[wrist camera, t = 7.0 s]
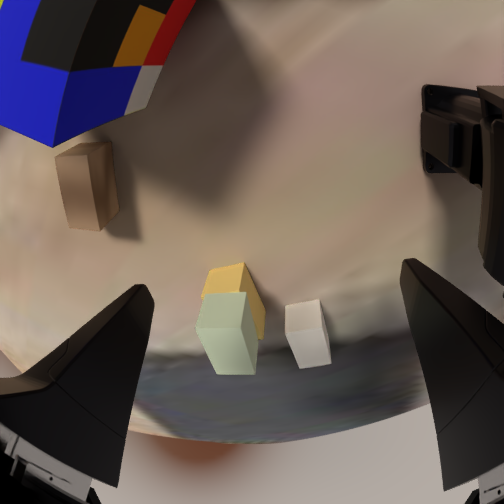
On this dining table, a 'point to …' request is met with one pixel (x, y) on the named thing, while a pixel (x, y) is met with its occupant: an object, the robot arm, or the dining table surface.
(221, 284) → the mustard brick
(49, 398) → the robot arm
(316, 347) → the grey brick
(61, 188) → the walnut brick
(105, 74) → the puzzle toy
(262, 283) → the dining table surface
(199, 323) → the sage brick
